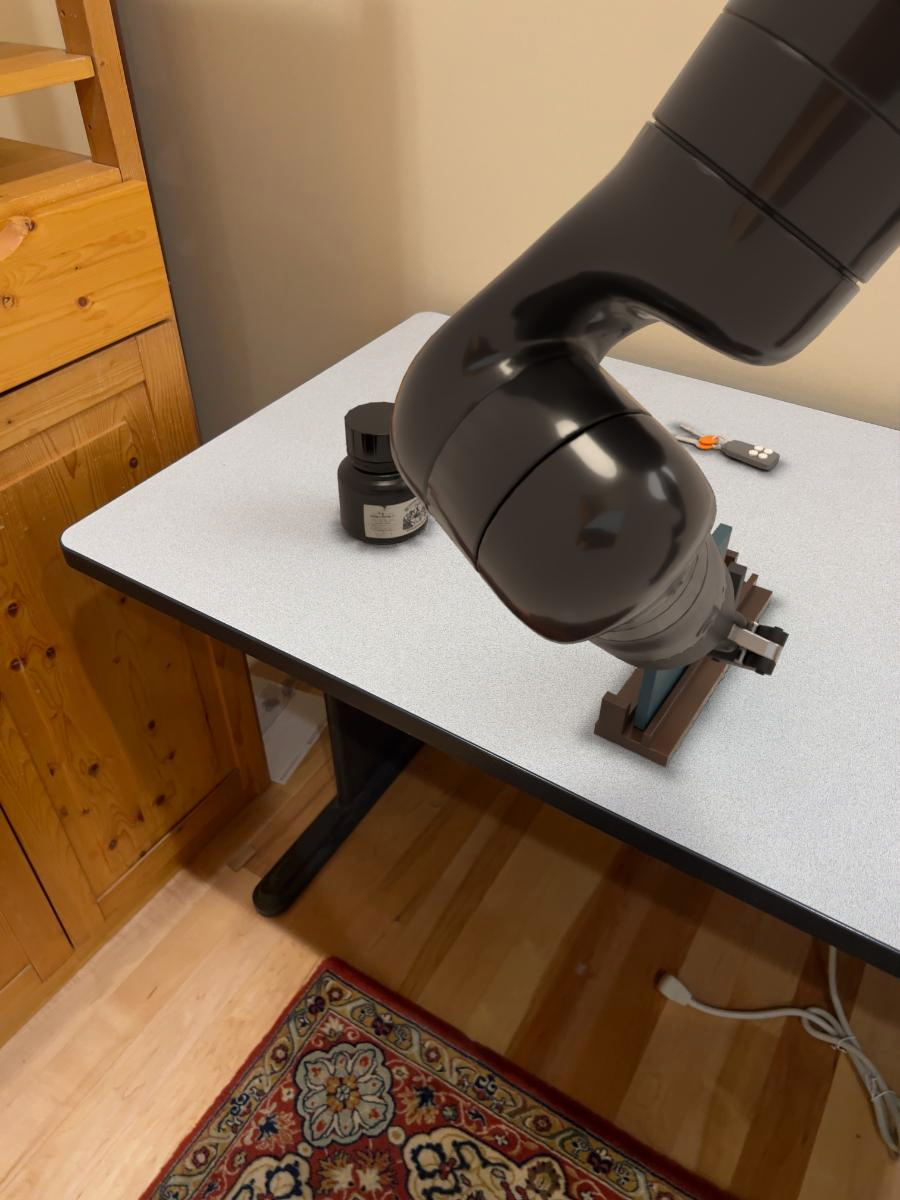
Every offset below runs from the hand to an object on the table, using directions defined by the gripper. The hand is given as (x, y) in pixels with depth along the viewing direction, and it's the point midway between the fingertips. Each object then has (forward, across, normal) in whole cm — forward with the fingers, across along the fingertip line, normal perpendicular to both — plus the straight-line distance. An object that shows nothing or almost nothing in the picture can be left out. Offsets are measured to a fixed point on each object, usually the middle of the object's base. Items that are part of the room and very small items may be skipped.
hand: (693, 636), depth 58 cm
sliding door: (+13, +1, +3) cm, 14 cm away
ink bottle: (+19, +37, -1) cm, 41 cm away
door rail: (+18, +3, +1) cm, 18 cm away
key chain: (+44, +14, -25) cm, 53 cm away
